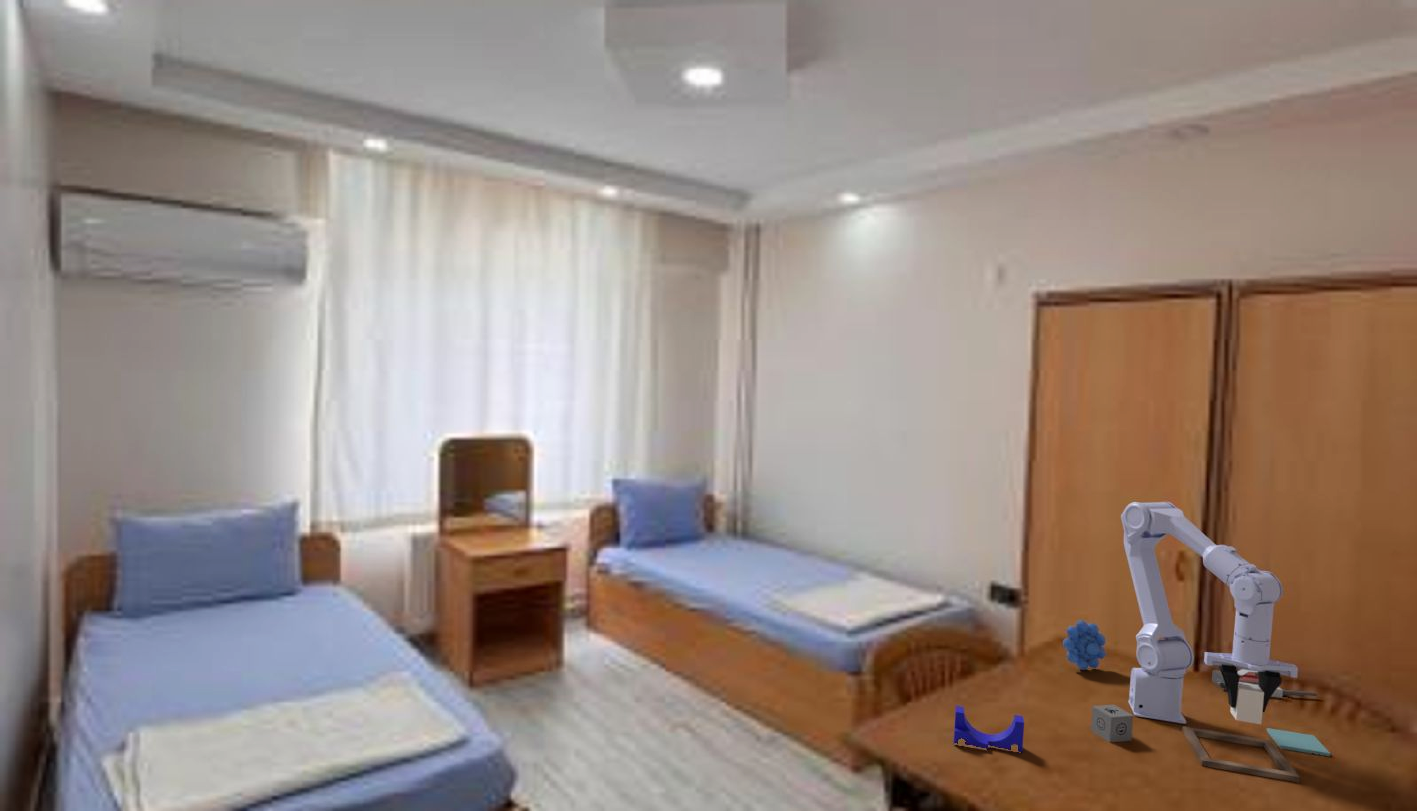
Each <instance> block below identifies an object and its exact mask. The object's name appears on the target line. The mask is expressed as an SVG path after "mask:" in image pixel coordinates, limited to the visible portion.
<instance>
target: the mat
mask: <svg viewBox="0 0 1417 811" xmlns="http://www.w3.org/2000/svg"><path fill="white" fill-rule="evenodd" d="M1266 732H1267V733H1268V735H1269V736H1270V737H1271V739H1272V740H1273V741H1274V742H1275V743H1276V745H1277V746H1278V747H1279V749H1283V750H1289V751H1295V752H1299V753H1300V752H1301V753H1307V754H1312V753H1314V754H1313V755H1317V756H1318V755H1319V754H1320V756H1324V755H1325V757H1331V752H1329V750H1328V749H1327V748H1326V747H1325V746H1324V745H1323V744H1322V743H1321V741H1319V739H1318V738H1317V737H1316V736H1315V735H1313V734H1307V733H1299V732H1295V731H1289V730H1282V729H1274V728H1270V727H1269V728H1268V727H1266Z"/></svg>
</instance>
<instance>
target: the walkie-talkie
mask: <svg viewBox="0 0 1417 811" xmlns="http://www.w3.org/2000/svg"><path fill="white" fill-rule="evenodd" d="M1211 673H1212V675H1211V681H1212V683H1214V684H1215V685H1217V686H1218V687H1220V688H1221V689H1222V690H1224V691H1226V692H1227V689H1226V685H1225V682H1224V679H1223V676H1222V674H1221V671H1220V670H1218V669H1217V670H1216V669H1215V670H1214V669H1213V670H1212V672H1211ZM1238 675H1239V676H1240V679H1239V682H1243V683H1249V684H1256V685H1258V686H1259V675H1258V671H1252V670H1245V669H1239V670H1238ZM1283 696H1294V697H1295V696H1297V697H1304V696H1309V697H1317V696H1318V694H1317V693H1316V692H1315V691H1303V690H1300V691H1299V690H1288V689H1284V688H1283V689H1282V688H1281V687H1280V686H1279V687H1278V688H1277V689H1276V690H1275V691H1274V693H1273V694H1272V696H1271V698H1277V699H1283Z"/></svg>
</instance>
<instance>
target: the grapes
mask: <svg viewBox="0 0 1417 811" xmlns="http://www.w3.org/2000/svg"><path fill="white" fill-rule="evenodd" d="M1066 635H1067V636H1068V637H1067V638H1064V640H1063V641H1062V647H1063V648H1064V650H1067V653H1066V659H1067V661H1069V662H1070V663H1072V664H1076V666H1077V668H1078V669H1080V670H1082V671H1085V670H1087V669H1089V667H1090V669H1096V668H1098V667H1099V665H1100V660H1102V659H1104V658H1105V657H1106V656H1107V655H1106V654H1107V653H1106V652H1107V651H1106V650H1105V648H1104V647H1103V646H1104V645H1106V643H1107V642H1106V641H1107V640H1106V637H1105V635H1104V634H1102V633H1100V628H1099V626H1098V625H1097V624H1095V623H1092V622H1090V623H1087V622H1086V621H1085V620H1082V619H1080V620H1077V621H1076V623H1075V626H1073V625H1070V626H1068V627H1067V628H1066Z"/></svg>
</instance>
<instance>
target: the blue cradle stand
mask: <svg viewBox="0 0 1417 811" xmlns="http://www.w3.org/2000/svg"><path fill="white" fill-rule="evenodd" d="M1024 732H1025V719H1024V716H1023V715H1017V714H1014V715H1013V720H1012V722H1011V724H1010V726H1009V727H1008V728H1007V729H1005V730H1004V731H1002V732H1000V733H996V734H994V733H993V734H989V733H984V732H982V731H979V730H978V729H977V728H975V727H973V725H971V723H970V722H969V720H968V719H967V717H966V714H965V707H964V706H960V705H955V714H954V728H953V744H954V743H957V744H958V740H959V739H961V738H962V739H964V740H965V741H966V742H965V744H966V745H973V746H976V747H981V748H986V749H988V750H989V748H988V745H990V746H995V747H998V748H1004V749H1008V750H1011V745H1018V751H1019V752H1022V753H1023V749H1024V748H1023V747H1024V746H1023V745H1024Z"/></svg>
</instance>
